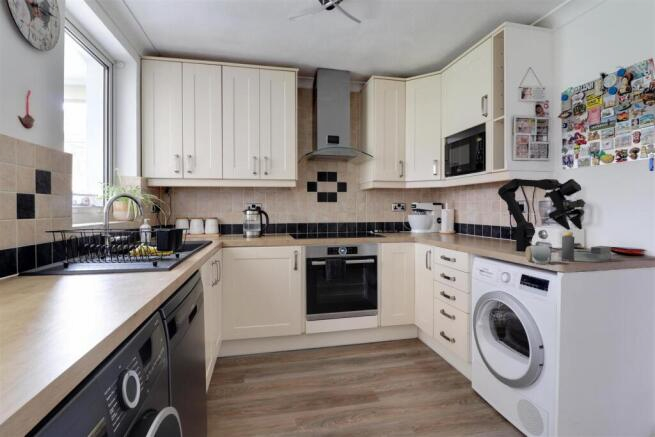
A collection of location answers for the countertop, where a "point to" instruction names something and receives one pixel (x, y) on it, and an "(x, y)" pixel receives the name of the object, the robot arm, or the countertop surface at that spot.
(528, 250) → the ceramic mug
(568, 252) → the plug
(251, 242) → the countertop surface
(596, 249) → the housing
